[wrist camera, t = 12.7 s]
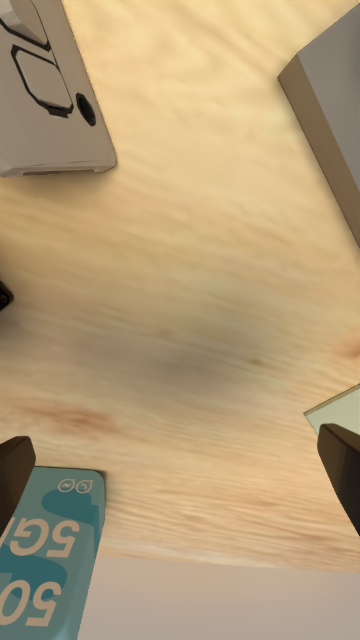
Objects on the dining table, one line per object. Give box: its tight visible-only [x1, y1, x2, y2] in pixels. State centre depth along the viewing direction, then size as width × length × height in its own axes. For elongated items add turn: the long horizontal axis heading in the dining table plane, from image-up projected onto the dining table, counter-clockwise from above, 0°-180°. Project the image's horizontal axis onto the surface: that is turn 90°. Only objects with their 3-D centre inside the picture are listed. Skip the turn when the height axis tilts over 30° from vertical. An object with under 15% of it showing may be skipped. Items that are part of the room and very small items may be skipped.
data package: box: [0, 467, 105, 640], centre depth 23 cm, size 12×4×12 cm, turn 85°
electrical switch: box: [0, 0, 116, 177], centre depth 13 cm, size 9×5×9 cm, turn 18°
